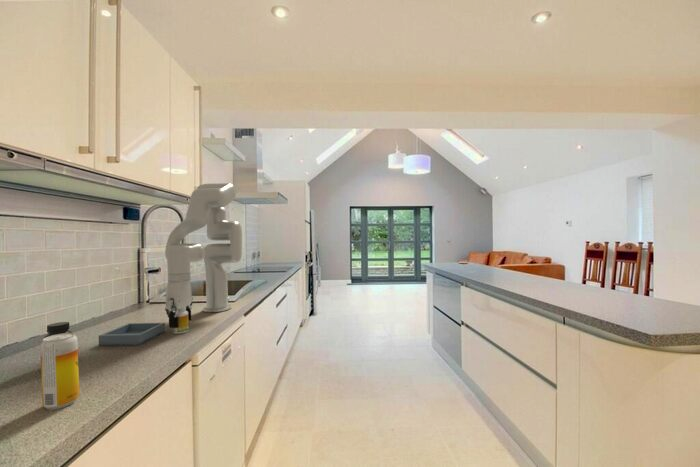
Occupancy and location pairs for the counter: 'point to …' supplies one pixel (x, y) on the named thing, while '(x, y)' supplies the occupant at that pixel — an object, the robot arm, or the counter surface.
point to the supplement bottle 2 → (182, 321)
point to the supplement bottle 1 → (57, 329)
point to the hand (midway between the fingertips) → (180, 323)
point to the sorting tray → (131, 334)
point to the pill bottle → (59, 370)
